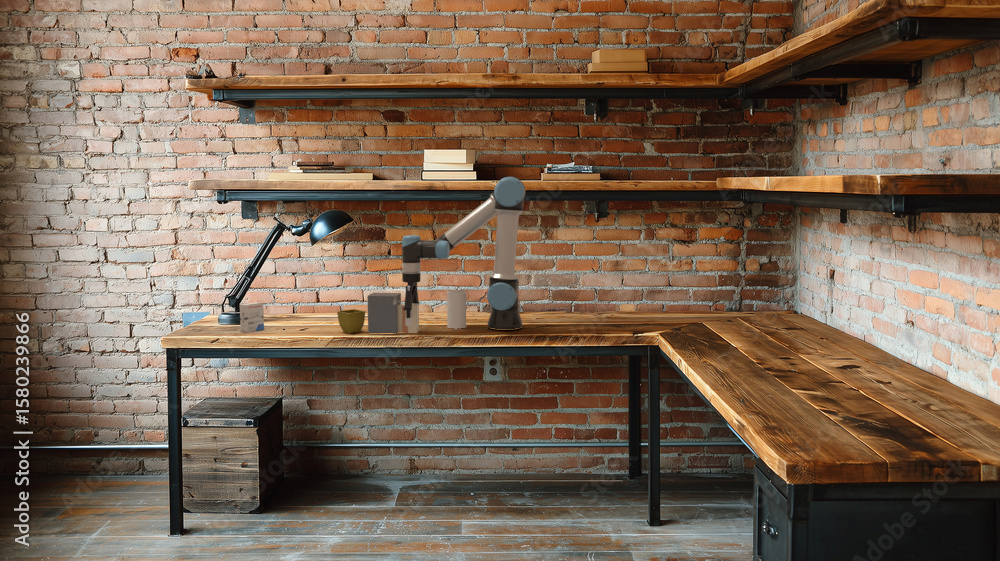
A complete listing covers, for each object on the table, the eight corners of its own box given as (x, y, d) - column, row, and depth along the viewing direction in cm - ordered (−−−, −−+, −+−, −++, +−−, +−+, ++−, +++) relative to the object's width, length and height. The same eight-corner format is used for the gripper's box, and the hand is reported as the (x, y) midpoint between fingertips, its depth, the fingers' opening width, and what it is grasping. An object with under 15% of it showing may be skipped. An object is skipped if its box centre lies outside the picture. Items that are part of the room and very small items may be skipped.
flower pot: (336, 332, 310) (336, 311, 309) (354, 329, 316) (354, 308, 315) (348, 335, 303) (348, 313, 302) (366, 332, 309) (365, 311, 308)
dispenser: (401, 330, 314) (400, 292, 312) (396, 334, 304) (396, 296, 303) (373, 329, 315) (372, 292, 313) (368, 334, 305) (367, 295, 303)
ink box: (258, 328, 318) (257, 301, 316) (264, 329, 315) (263, 302, 313) (240, 331, 311) (238, 303, 310) (246, 332, 308) (245, 304, 307)
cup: (449, 329, 315) (449, 292, 313) (445, 326, 323) (445, 290, 321) (468, 328, 317) (468, 292, 315) (463, 325, 325) (463, 289, 323)
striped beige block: (419, 331, 311) (418, 303, 310) (417, 333, 306) (416, 305, 305) (390, 331, 312) (390, 303, 311) (388, 333, 307) (388, 304, 306)
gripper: (407, 269, 319) (408, 317, 321) (396, 275, 294) (397, 328, 296) (425, 269, 318) (425, 318, 321) (415, 275, 294) (415, 328, 296)
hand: (411, 322), depth 309 cm, fingers open, 13 cm apart
